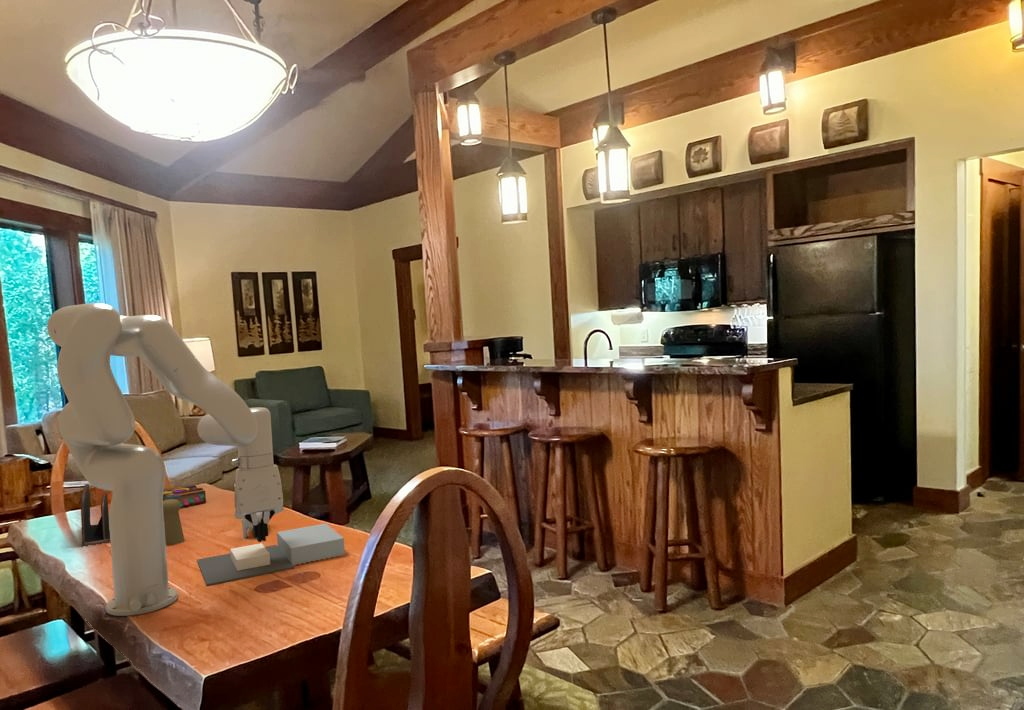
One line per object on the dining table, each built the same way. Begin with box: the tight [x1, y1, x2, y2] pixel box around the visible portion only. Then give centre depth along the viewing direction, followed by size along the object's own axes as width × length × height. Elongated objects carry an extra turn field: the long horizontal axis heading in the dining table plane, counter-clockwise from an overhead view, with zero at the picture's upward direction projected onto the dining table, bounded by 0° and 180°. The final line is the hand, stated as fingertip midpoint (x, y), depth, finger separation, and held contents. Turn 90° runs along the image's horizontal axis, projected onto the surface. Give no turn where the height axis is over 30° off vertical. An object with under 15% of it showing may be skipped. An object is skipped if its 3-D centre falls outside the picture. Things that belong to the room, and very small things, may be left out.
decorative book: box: [163, 484, 207, 509], centre depth 227 cm, size 11×16×5 cm
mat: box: [196, 544, 295, 587], centre depth 161 cm, size 20×18×1 cm
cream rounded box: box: [230, 542, 270, 571], centre depth 162 cm, size 10×7×2 cm
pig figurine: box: [241, 512, 262, 539], centre depth 188 cm, size 5×13×11 cm, turn 9°
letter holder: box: [80, 483, 110, 547], centre depth 193 cm, size 10×20×14 cm, turn 27°
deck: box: [276, 522, 346, 566], centre depth 169 cm, size 16×12×4 cm
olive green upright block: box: [163, 499, 185, 547], centre depth 183 cm, size 6×6×11 cm
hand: (261, 540), depth 163 cm, fingers closed
